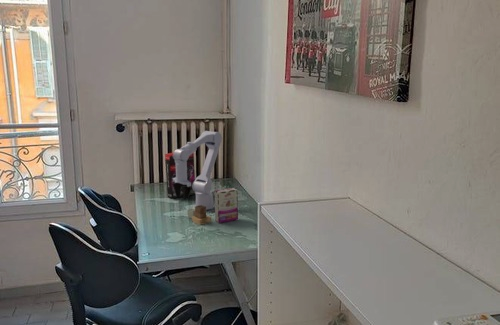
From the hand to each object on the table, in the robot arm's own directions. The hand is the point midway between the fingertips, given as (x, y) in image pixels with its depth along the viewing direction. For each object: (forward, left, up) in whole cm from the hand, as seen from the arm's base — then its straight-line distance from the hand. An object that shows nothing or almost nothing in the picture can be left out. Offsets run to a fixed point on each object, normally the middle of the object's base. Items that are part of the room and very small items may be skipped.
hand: (182, 197), depth 229 cm
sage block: (-3, +5, -11) cm, 12 cm away
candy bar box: (-13, +21, -11) cm, 27 cm away
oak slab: (-2, +14, -11) cm, 18 cm away
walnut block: (-2, +14, -8) cm, 16 cm away
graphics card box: (-20, -32, -11) cm, 39 cm away
